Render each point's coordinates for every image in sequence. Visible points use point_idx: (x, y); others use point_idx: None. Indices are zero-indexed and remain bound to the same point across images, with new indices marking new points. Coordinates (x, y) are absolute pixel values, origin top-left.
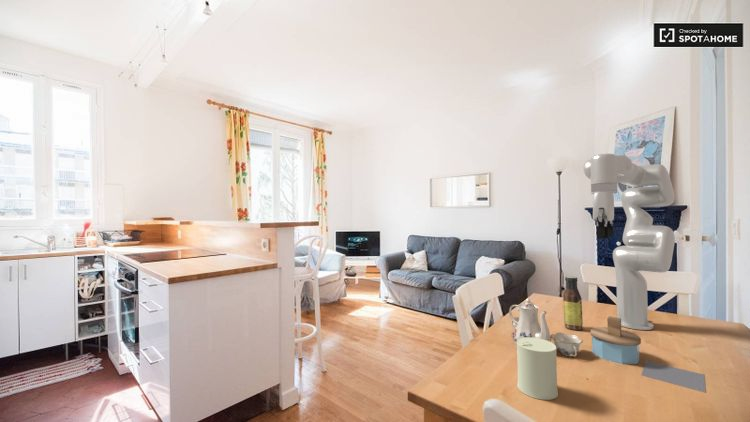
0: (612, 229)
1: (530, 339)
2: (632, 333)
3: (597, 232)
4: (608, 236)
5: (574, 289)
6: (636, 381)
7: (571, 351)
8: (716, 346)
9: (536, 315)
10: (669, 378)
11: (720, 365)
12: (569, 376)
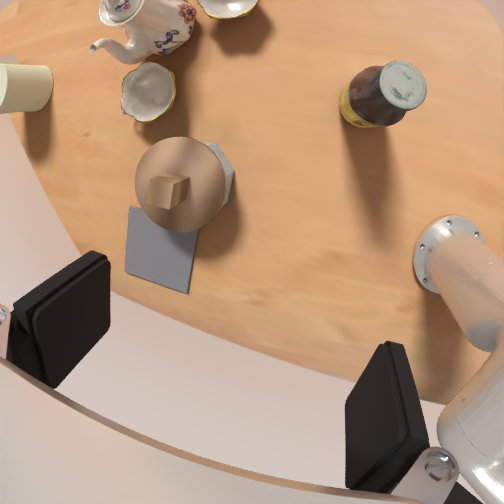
0: (347, 460)
1: (2, 76)
2: (206, 223)
3: (59, 279)
4: (360, 379)
5: (370, 99)
6: (114, 197)
7: (139, 104)
8: (356, 357)
9: (122, 26)
10: (140, 242)
11: (255, 330)
12: (81, 112)
